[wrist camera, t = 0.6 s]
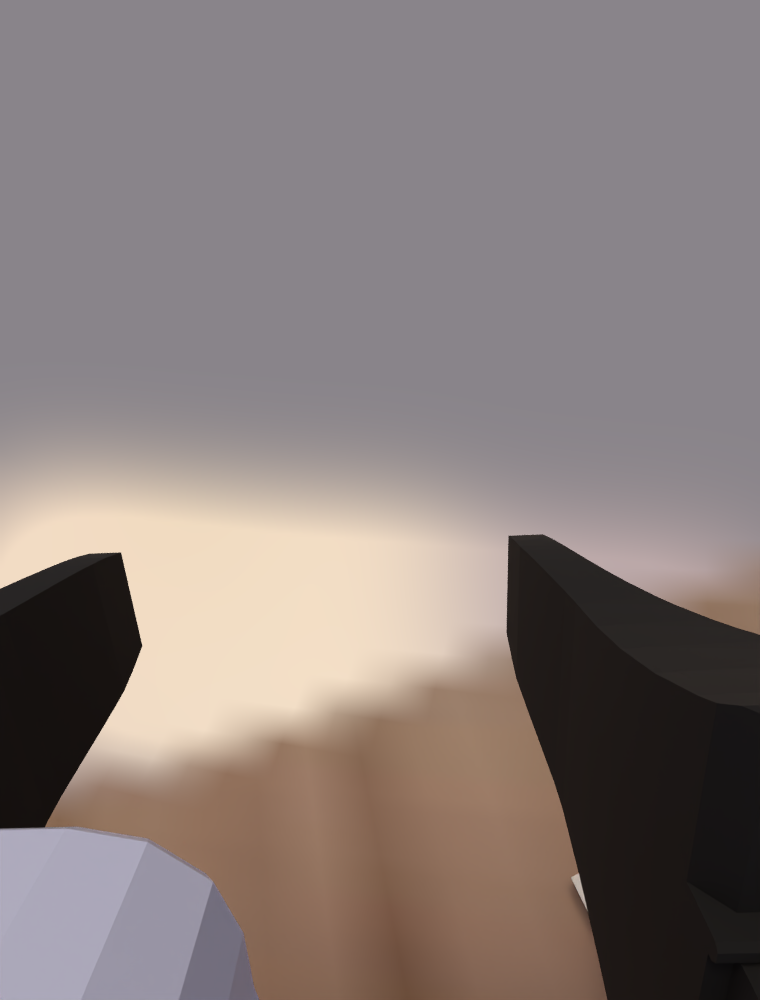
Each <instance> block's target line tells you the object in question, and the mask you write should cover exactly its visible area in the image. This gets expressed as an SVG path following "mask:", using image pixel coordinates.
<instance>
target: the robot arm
mask: <svg viewBox="0 0 760 1000" xmlns="http://www.w3.org/2000/svg"><path fill="white" fill-rule="evenodd" d="M508 545H509V546H508V592H507V637H508V642H509V646H510V651H511V656H512V661H513V665H514V670H515V674H516V678H517V681H518V684H519V687H520V690H521V692H522V695H523V698H524V701H525V704H526V706H527V709H528V712H529V715H530V717H531V720H532V723H533V726H534V728H535V731H536V734H537V736H538V739H539V742H540V745H541V747H542V750H543V753H544V755H545V758H546V761H547V764H548V766H549V769H550V772H551V774H552V777H553V780H554V783H555V786H556V789H557V792H558V795H559V798H560V802H561V805H562V808H563V812H564V816H565V820H566V824H567V828H568V832H569V836H570V840H571V844H572V848H573V852H574V856H575V860H576V864H577V868H578V872H579V876H580V880H581V885H582V889H583V893H584V897H585V902H586V906H587V910H588V914H589V919H590V923H591V927H592V931H593V936H594V940H595V945H596V949H597V954H598V958H599V963H600V967H601V972H602V976H603V981H604V986H605V990H606V995H607V999H608V1000H760V635H758V634H755V633H752V632H748V631H745V630H742V629H738V628H735V627H732V626H729V625H726V624H724V623H721V622H718V621H715V620H712V619H709V618H707V617H704V616H702V615H699V614H697V613H694V612H692V611H689V610H687V609H684V608H682V607H679V606H677V605H674V604H672V603H670V602H667V601H665V600H663V599H661V598H658V597H656V596H654V595H652V594H650V593H648V592H646V591H644V590H642V589H640V588H638V587H636V586H634V585H632V584H630V583H628V582H626V581H624V580H623V579H621V578H619V577H617V576H615V575H613V574H611V573H610V572H608V571H606V570H604V569H603V568H601V567H599V566H597V565H596V564H594V563H592V562H591V561H589V560H587V559H585V558H584V557H582V556H580V555H579V554H577V553H575V552H574V551H572V550H570V549H569V548H567V547H565V546H564V545H562V544H560V543H558V542H557V541H555V540H553V539H551V538H549V537H547V536H545V535H522V536H520V535H519V536H509V544H508ZM141 648H142V643H141V638H140V634H139V630H138V625H137V621H136V617H135V612H134V608H133V603H132V599H131V595H130V591H129V586H128V581H127V577H126V573H125V568H124V564H123V560H122V555H121V553H101V554H100V553H98V554H87V555H83V556H79V557H76V558H73V559H70V560H67V561H64V562H62V563H59V564H57V565H54V566H52V567H50V568H47V569H45V570H42V571H40V572H38V573H35V574H33V575H31V576H28V577H26V578H24V579H21V580H19V581H17V582H15V583H12V584H10V585H8V586H6V587H3V588H1V589H0V1000H259V998H258V996H257V993H256V991H255V988H254V984H253V979H252V974H251V969H250V964H249V959H248V954H247V949H246V944H245V938H244V933H243V932H242V930H241V928H240V926H239V925H238V923H237V921H236V920H235V918H234V916H233V915H232V913H231V911H230V910H229V908H228V906H227V904H226V903H225V901H224V899H223V898H222V896H221V894H220V893H219V891H218V889H217V888H216V886H215V884H214V882H213V881H212V880H211V879H210V878H209V877H208V876H207V874H206V873H204V872H202V871H201V870H199V869H198V868H196V867H194V866H193V865H191V864H189V863H188V862H186V861H184V860H183V859H181V858H179V857H178V856H176V855H174V854H173V853H171V852H170V851H168V850H166V849H165V848H163V847H161V846H160V845H158V844H156V843H155V842H153V841H151V840H150V839H147V838H141V837H135V836H129V835H123V834H117V833H111V832H105V831H100V830H94V829H88V828H82V827H49V828H45V825H46V823H47V821H48V819H49V818H50V816H51V814H52V812H53V810H54V808H55V807H56V805H57V803H58V801H59V799H60V798H61V796H62V794H63V792H64V791H65V789H66V787H67V786H68V784H69V782H70V781H71V779H72V777H73V776H74V774H75V773H76V771H77V769H78V768H79V766H80V764H81V763H82V761H83V759H84V758H85V756H86V754H87V753H88V751H89V749H90V748H91V746H92V744H93V743H94V741H95V739H96V738H97V736H98V735H99V733H100V731H101V729H102V728H103V726H104V725H105V723H106V721H107V719H108V717H109V716H110V714H111V713H112V711H113V709H114V708H115V706H116V704H117V702H118V701H119V699H120V697H121V695H122V694H123V692H124V690H125V687H126V685H127V683H128V680H129V678H130V676H131V674H132V671H133V669H134V666H135V663H136V661H137V658H138V655H139V653H140V650H141Z"/></svg>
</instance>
